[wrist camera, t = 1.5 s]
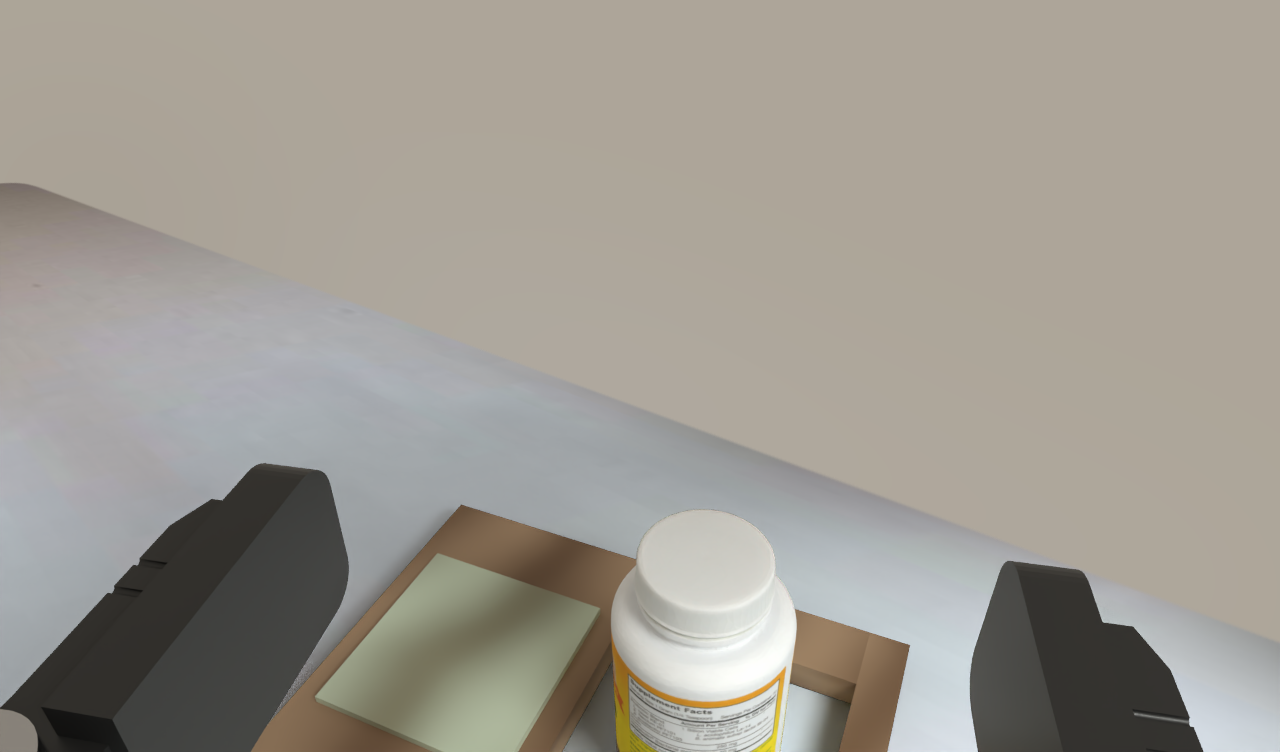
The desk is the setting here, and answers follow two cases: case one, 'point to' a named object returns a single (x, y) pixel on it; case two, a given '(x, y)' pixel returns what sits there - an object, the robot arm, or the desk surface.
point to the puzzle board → (523, 653)
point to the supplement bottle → (702, 639)
